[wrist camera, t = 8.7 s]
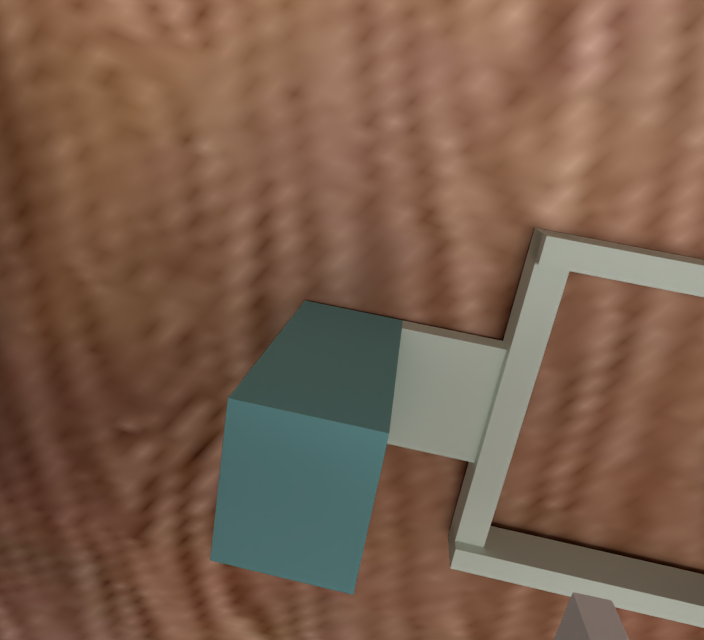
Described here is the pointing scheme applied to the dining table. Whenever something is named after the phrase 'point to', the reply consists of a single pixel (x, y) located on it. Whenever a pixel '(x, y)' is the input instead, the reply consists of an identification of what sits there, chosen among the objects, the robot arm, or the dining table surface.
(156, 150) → the dining table surface
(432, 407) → the frame
